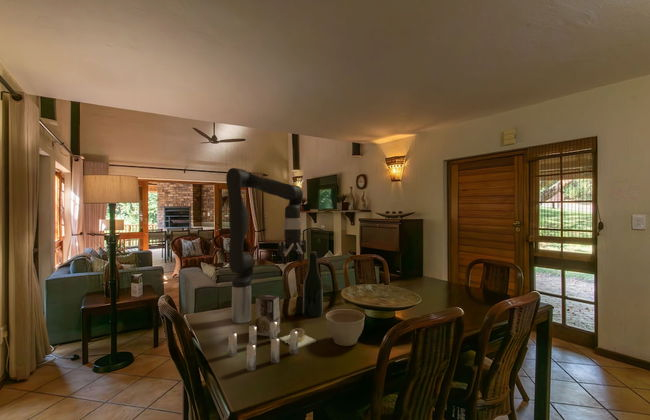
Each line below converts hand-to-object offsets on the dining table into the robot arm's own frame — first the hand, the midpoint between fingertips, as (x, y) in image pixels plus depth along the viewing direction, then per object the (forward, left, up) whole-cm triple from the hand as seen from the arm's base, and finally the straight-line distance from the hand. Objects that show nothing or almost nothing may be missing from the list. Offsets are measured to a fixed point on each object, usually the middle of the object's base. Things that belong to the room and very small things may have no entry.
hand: (292, 263), depth 141 cm
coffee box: (-3, -11, -30) cm, 32 cm away
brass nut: (+12, -6, -30) cm, 32 cm away
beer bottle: (-9, +20, -30) cm, 37 cm away
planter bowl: (+26, +8, -30) cm, 41 cm away
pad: (+12, -6, -30) cm, 33 cm away
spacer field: (+13, -23, -30) cm, 40 cm away
